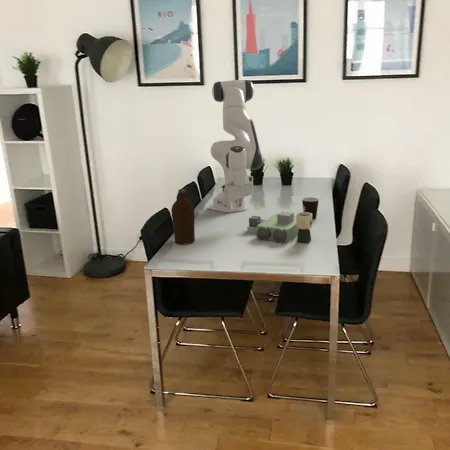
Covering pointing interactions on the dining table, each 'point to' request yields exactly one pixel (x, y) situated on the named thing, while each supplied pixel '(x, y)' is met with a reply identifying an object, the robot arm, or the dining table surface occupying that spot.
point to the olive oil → (183, 219)
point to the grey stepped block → (255, 221)
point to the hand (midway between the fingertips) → (238, 206)
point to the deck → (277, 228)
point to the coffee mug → (310, 205)
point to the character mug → (304, 226)
